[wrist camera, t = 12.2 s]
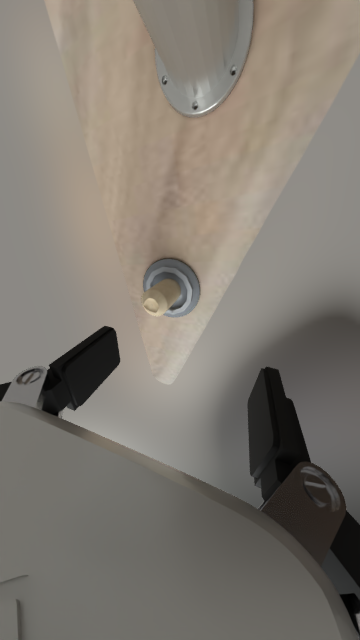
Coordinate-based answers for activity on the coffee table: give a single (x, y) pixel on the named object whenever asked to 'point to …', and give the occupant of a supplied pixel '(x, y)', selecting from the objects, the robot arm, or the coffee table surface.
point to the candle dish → (182, 277)
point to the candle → (161, 297)
